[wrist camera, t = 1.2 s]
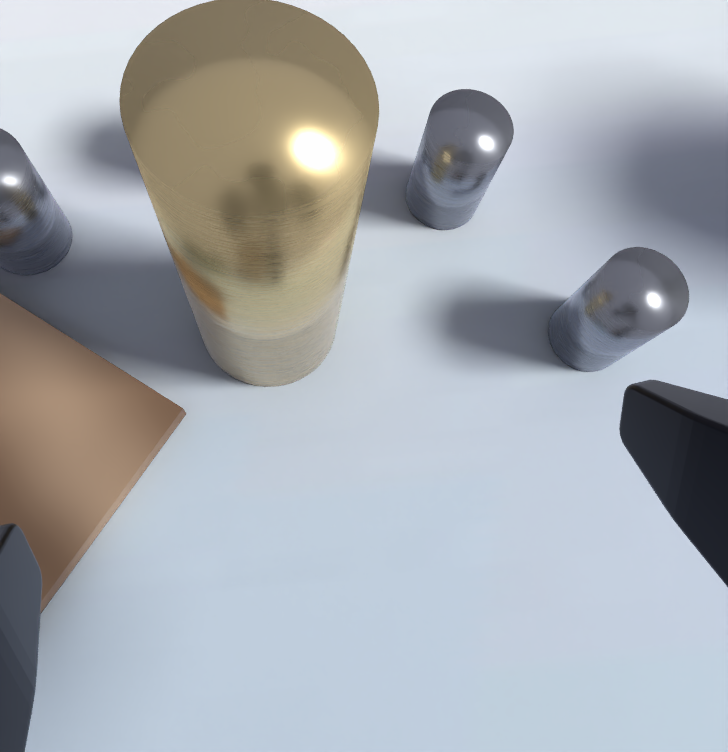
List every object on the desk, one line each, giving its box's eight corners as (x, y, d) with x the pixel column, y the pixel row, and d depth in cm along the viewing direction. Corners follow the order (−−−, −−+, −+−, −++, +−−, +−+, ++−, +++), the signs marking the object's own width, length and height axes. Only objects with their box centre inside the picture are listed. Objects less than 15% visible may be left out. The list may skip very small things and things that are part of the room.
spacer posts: (620, 377, 25) (690, 338, 21) (-25, 269, 23) (-97, 201, 19) (622, 200, 27) (685, 131, 23) (38, 90, 26) (-13, -7, 21)
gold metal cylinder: (288, 412, 23) (290, 260, 12) (173, 340, 23) (63, 122, 12) (360, 305, 24) (423, 78, 13) (251, 239, 25) (219, -41, 13)
